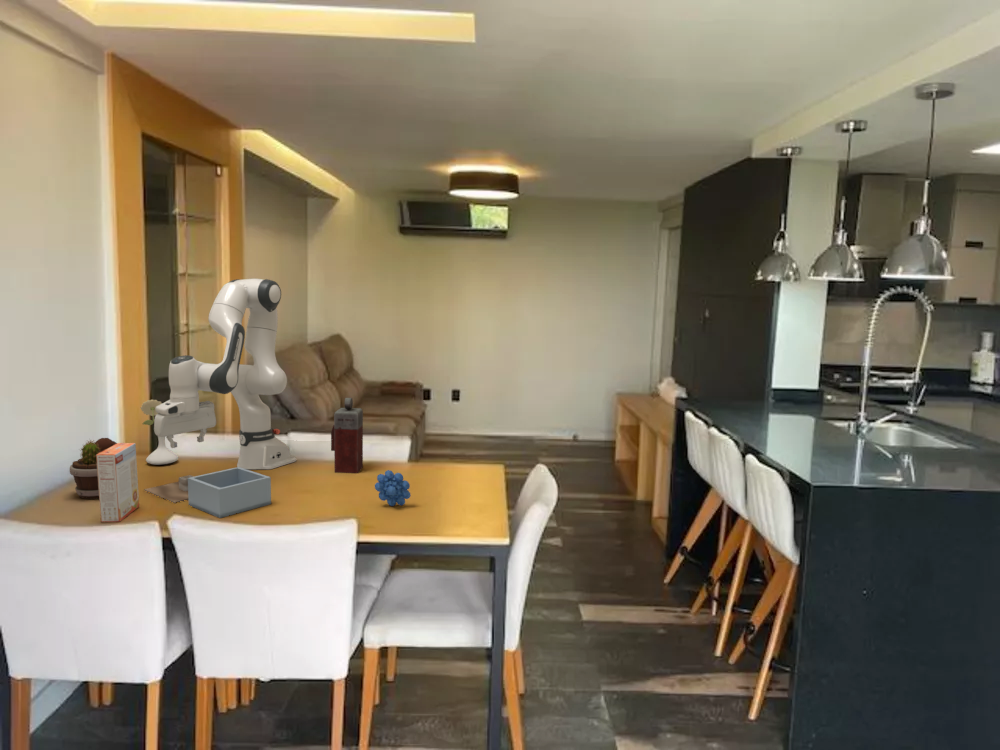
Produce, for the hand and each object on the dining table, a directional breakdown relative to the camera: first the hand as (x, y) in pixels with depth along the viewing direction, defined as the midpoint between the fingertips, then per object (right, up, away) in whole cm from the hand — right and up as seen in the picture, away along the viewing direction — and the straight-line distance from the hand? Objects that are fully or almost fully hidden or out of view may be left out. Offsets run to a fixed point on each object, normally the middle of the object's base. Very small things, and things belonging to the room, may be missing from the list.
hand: (187, 444), depth 238 cm
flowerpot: (-27, -16, -6) cm, 32 cm away
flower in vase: (-26, -11, +34) cm, 44 cm away
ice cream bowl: (-33, -14, +13) cm, 38 cm away
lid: (-1, -16, +2) cm, 17 cm away
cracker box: (-10, -19, -24) cm, 32 cm away
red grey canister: (+47, -13, +32) cm, 58 cm away
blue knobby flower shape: (+71, -20, -10) cm, 74 cm away
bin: (+19, -18, -12) cm, 29 cm away
